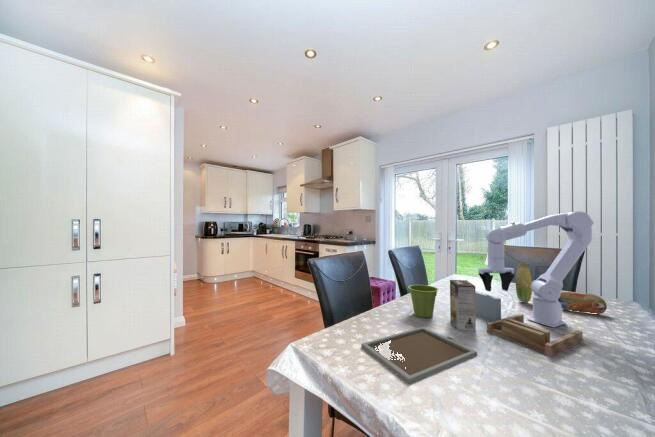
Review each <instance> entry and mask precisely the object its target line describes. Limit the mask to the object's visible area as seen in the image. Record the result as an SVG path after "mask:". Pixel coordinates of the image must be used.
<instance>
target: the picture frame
mask: <svg viewBox="0 0 655 437" xmlns="http://www.w3.org/2000/svg"><path fill="white" fill-rule="evenodd" d="M390 340H391V343H390V344H389V346H390V347H389V349H390V350H392V351H391V354H392V353H393V351H394V355H395V354H397V352H398V354H402V356H403V357H404V358H405V361H404V359H403V360H401V361H400V359H399V360H397V358H398V357H397V356H396V355H395V357H396V358H395V357H394V356H392V355H391V356H392V357H393V358H391V357H390V358H391V359H393V360H391V359H390V360H388V359H387V358H385V357H384V356H382V355H381V354H380V353H379V351H376V350H377V349H378V346H379V345H380V343H381V344H382V343H385V342H388V341H390ZM382 345H383V344H382ZM360 346H361V349H362V350H364V351H366V352H367V353H368V354H369V353H370V355H371V356H372V357H373V358H374V359H376V360H377V361H378V360H379V363H381V362H382V363H383V364H382V363H381V364H382V365H383V366H385V365H386V366H387V367H388V368H387V367H386V366H385V367H386V368H387V369H389V370H390V369H391V370H392V371H391V370H390V371H391V372H392V373H394V374H395V375H396V374H397V375H396V376H398V377H399V378H400V379H402V380H403V381H404V380H405V381H406V383H407V384H409V385H410V384H413V383H415V382H417V381H419V380H421V379H424V378H426V377H428V376H432V375H433V374H436V373H438V372H441V371H444V370H446V369H449V368H450V367H452V366H455V365H457V364H460V363H462V362H464V361H467V360H470V359H472V358H473V357H476V356H477V355H478V352H477V350H474V349H472V348H470V347H468V346H466V345H464V344H462V343H460V342H458V341H456V339H455V338H454V337H452V336H446V335H442V334H439V333H437V332H436V331H433V330H431V329H430V328H427V327H425V326H419V327H416V328H414V329H410V330H407V331H403V332H398V333H396V334H390V335H387V336H384V337H381V338H378V339H373V340H370V341H366V342H362V343H361V344H360ZM375 346H376V347H377V349H376V350H375V348H376V347H375ZM378 350H379V349H378ZM399 357H400V356H399ZM400 358H401V359H402V357H400ZM394 359H396V360H394ZM402 361H403V362H402ZM405 367H406V369H405ZM405 381H404V382H405Z"/></svg>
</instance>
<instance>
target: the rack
mask: <svg viewBox="0 0 655 437" xmlns="http://www.w3.org/2000/svg"><path fill="white" fill-rule="evenodd" d="M524 316H525V314H523V313H518V314H514V315H511V316H507V317H505V318H504V317H503V318H501V319H500V320H496V321H490V322H488V323H486V333H489V334H492V335H495V336H498V337H500V338H502V339H505V340H508V341H511V342H513V343H515V344H518V345H521V346H524V347H526V348H529V349H531V350H534V351H535V352H536V351H537V352H539V353H542V354H544V355H545V356H548V357H553V356H554V355H557V354H559V353H562V352H563V351H565V350H567V349H570V348H571V347H573V346H575V345H578V344H579V343H581V342H583V339H584V338H583V331H582V330H577V329H576V330H574V331H572V332H569V333H568V334H565V335H563V336H560V337H558V338H555V339H554V340H550V342H549V343H546V344H545V347H543V346H540V345H538V344H535V343H532V342H529V341H527V340H524V339H521V338H519V337H516V336H513V335H510V334H508V333H505V332H502V321H507V320H508V319H513V320H516V321H519V322H522V323H525V321H524V320H525V317H524Z"/></svg>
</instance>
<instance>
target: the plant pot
mask: <svg viewBox="0 0 655 437" xmlns="http://www.w3.org/2000/svg"><path fill="white" fill-rule="evenodd" d="M407 288H408V289H409V293H410V296H411V301H412V307H413V313H414V315H415V316H416V317H419V318H432V317H433V316H434V311H435V310H434V309H435V303H436V297H437V294H438V293H437V292H439V288H438V287H435V286H432V285H427V284H426V285H425V284H410V285H408V287H407Z"/></svg>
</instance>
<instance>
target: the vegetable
mask: <svg viewBox="0 0 655 437" xmlns="http://www.w3.org/2000/svg"><path fill="white" fill-rule="evenodd" d="M515 274H516V275H515V292H516V293H515V294H516V297H517V299H518V301H520V302H521V303H525V304H526V303H529V302H530V301H531V300H532V297H533V295H532V294H533V291H532V290H531V287H530V285H531V283H532V282H533V280H532V274H531V270H530V267H529V266H528V264H527V262H526V261H520V263H519V264H518V266H517V268H516V273H515Z"/></svg>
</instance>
